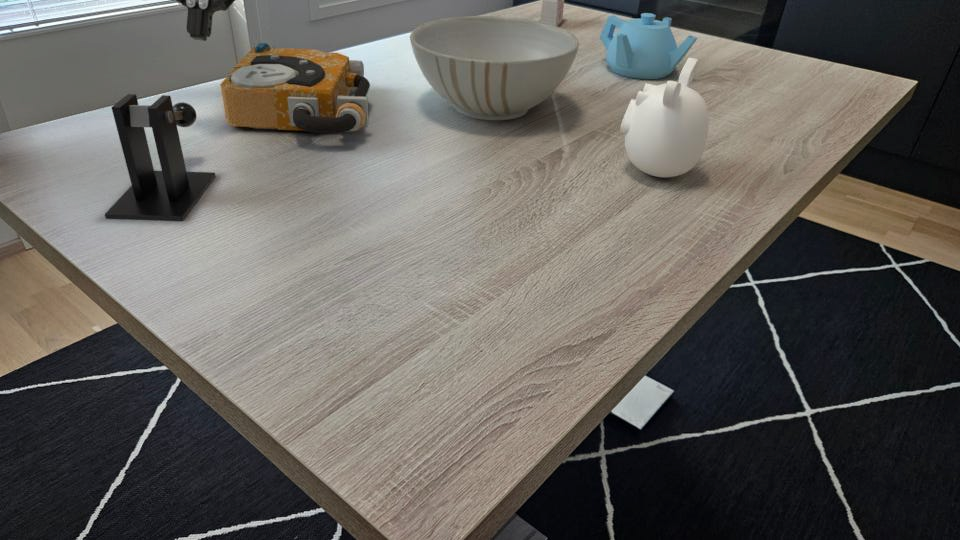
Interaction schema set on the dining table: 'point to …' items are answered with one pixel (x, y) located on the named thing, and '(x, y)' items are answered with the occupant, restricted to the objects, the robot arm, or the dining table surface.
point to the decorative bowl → (493, 62)
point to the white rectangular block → (552, 12)
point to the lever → (182, 112)
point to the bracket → (153, 190)
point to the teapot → (643, 46)
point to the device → (296, 91)
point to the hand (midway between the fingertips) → (197, 38)
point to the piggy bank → (666, 126)
